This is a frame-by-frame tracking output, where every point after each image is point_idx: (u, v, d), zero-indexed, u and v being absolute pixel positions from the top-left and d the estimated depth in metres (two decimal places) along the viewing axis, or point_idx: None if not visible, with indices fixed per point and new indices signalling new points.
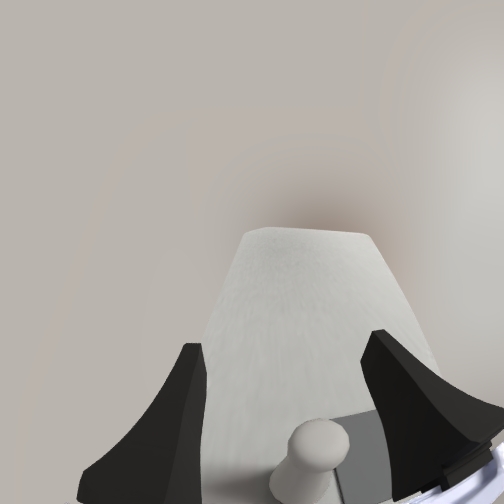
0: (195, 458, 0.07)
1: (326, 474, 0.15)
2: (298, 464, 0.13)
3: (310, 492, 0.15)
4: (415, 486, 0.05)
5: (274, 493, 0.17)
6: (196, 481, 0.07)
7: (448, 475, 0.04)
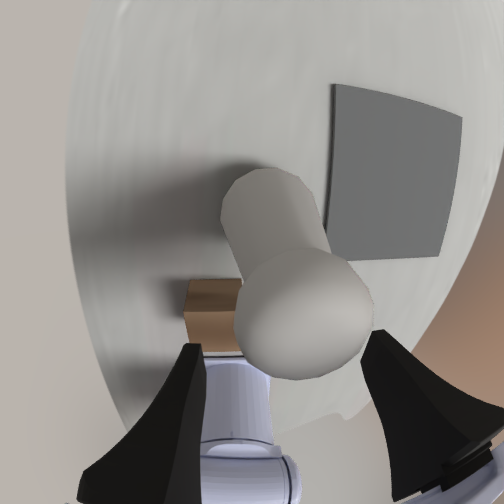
0: (195, 458, 0.07)
1: None
2: None
3: None
4: (415, 486, 0.05)
5: None
6: (196, 481, 0.07)
7: (448, 475, 0.04)
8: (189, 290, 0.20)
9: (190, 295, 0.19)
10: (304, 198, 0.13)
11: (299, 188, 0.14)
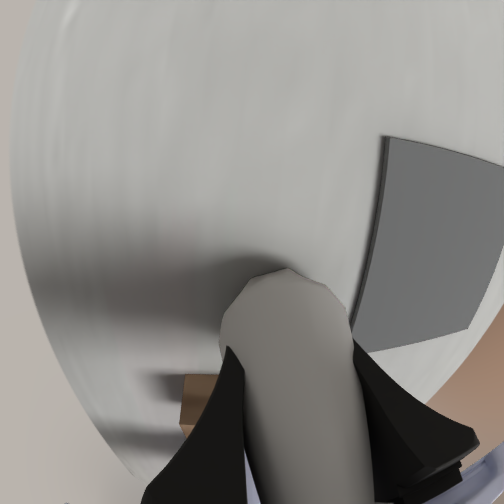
0: None
1: None
2: None
3: None
4: (375, 501, 0.05)
5: None
6: None
7: (405, 496, 0.04)
8: (185, 391, 0.15)
9: (186, 399, 0.15)
10: (342, 354, 0.08)
11: (333, 327, 0.09)
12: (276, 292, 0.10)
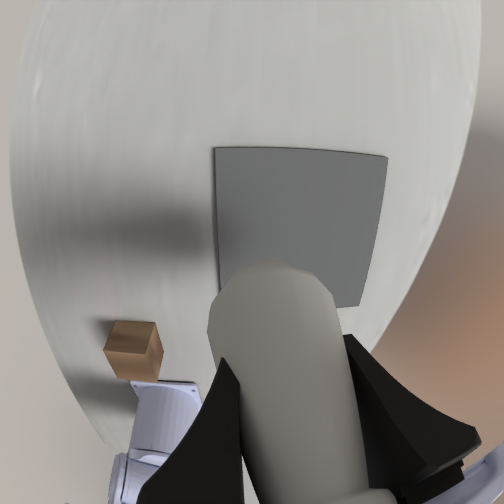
0: (241, 459, 0.07)
1: None
2: None
3: None
4: None
5: None
6: None
7: (408, 495, 0.04)
8: (112, 330, 0.21)
9: (111, 335, 0.21)
10: (330, 340, 0.09)
11: (321, 313, 0.09)
12: (263, 280, 0.10)
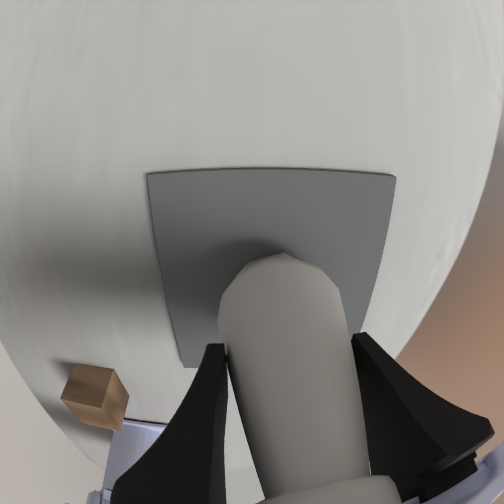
0: (221, 459, 0.07)
1: None
2: None
3: None
4: None
5: None
6: (223, 482, 0.07)
7: (426, 487, 0.04)
8: (70, 375, 0.17)
9: (69, 381, 0.16)
10: (335, 329, 0.09)
11: (327, 304, 0.10)
12: (272, 271, 0.11)
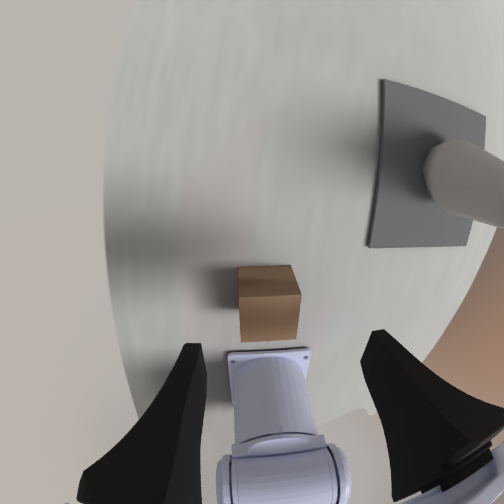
0: (195, 458, 0.07)
1: None
2: None
3: None
4: (415, 486, 0.05)
5: (438, 190, 0.15)
6: (196, 481, 0.07)
7: (448, 475, 0.04)
8: (239, 277, 0.19)
9: (242, 281, 0.19)
10: None
11: None
12: (461, 140, 0.14)
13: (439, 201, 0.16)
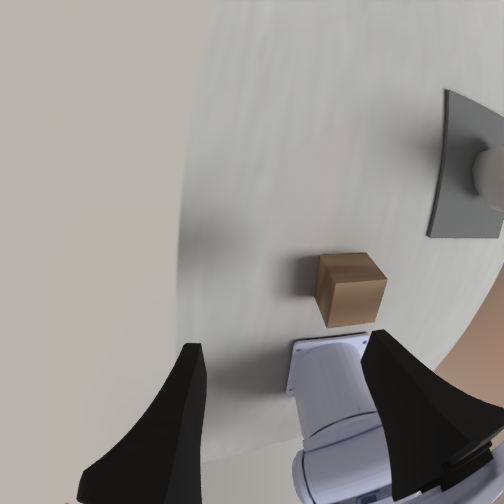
0: (195, 458, 0.07)
1: None
2: None
3: None
4: (415, 486, 0.05)
5: (489, 189, 0.15)
6: (196, 481, 0.07)
7: (448, 475, 0.04)
8: (326, 264, 0.19)
9: (331, 268, 0.19)
10: None
11: None
12: None
13: (488, 199, 0.16)
